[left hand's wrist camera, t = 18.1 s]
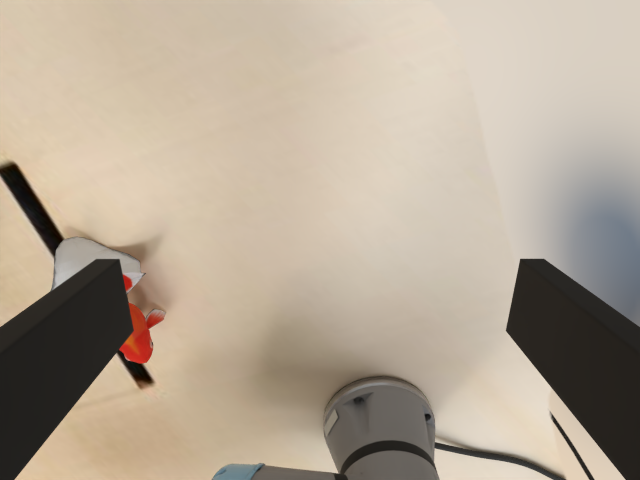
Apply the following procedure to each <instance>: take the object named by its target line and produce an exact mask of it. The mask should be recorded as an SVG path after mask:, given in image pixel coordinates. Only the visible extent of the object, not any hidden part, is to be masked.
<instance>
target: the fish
mask: <svg viewBox="0 0 640 480" xmlns="http://www.w3.org/2000/svg"><path fill="white" fill-rule="evenodd" d="M95 259H120V263H121V268H122V273H123V278H124V283H125V288H126V293H127V294H128V293H129V291H130V290H131V289H132V288H133V287H134V286H135V285H136V284H137V283H138V282H139V280H140V279H141V278H142V276H143V275H145V274H146V273H141V269H140V261H139V260H137V259H136V258H134V257H132V256H131V255H129V254H126V253H123V252H120V251H116V250H113V249H110V248H107V247H105V246H103V245H101V244H99V243H97V242H94V241H92V240H89V239H85V238H82V237H72V238H68V239H64V240H63V241H62V242H61V243H60V245H59V246H58V248H57V250H56V253H55V258H54V278H53V284H52V289H51V291H52V290H53V289H55V288H56V287H57V286H59V285H60V284H62V283H63V282H64V281H66V280H67V279H69V278H70V277H71V276H73V275H74V274H76V273H77V272H78V271H80V270H81V269H83V268H84V267H86V266H87V265H88V264H90V263H91V262H93V261H94V260H95ZM129 308H130V313H131V318H132V323H133V328H134V331H133V333H132V334H131V335H130V336H129V338H128V339H127V340H126V341H125V343H124V344H123V345H122V346H121V348H120V349H119V350H120V351H122V352H123V353H124V355H125V358H126V359H127V360H129V361H134V362H137V363H146V362H147V361H148V360H149V359H150V357H151V355H152V351H153V342H152V340H151V337H150V332H149V330H148V329H150V328H151V327H153V326H154V325H156V324H158V323H159V322H161V321H162V320H163V319H164V315H165V314H166V313H165V312H164V311H162V310H158V309H153V310H152V311H151V312H150V313H149V314H148V315H147V317H146V318H145V317H144V315H143V313H142V312H141V310H140V309H139V308H137V307H136V306H135V305H133V304H131V303H129Z"/></svg>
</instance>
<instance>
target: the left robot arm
mask: <svg viewBox="0 0 640 480" xmlns="http://www.w3.org/2000/svg"><path fill="white" fill-rule="evenodd" d="M133 331H134V328H133V323H132V318H131V313H130V308H129V303H128V298H127V293H126V288H125V283H124V278H123V273H122V268H121V263H120V259H95V260H94V261H93V262H91V263H90V264H88V265H87V266H86V267H84V268H83V269H81V270H80V271H78V272H77V273H76V274H74V275H73V276H71V277H70V278H69V279H67V280H66V281H64V282H63V283H62V284H60V285H59V286H57V287H56V288H55V289H53V290H52V291H50V292H49V293H48V294H46V295H45V296H43V297H42V298H41V299H39V300H38V301H36V302H35V303H34V304H32V305H31V306H29V307H28V308H27V309H25V310H24V311H22V312H21V313H20V314H18V315H17V316H15V317H14V318H12V319H11V320H10V321H8V322H7V323H5V324H4V325H3V326H1V327H0V480H14V479H15V478H16V477H17V476H18V474H19V473H20V472H21V471H22V469H23V468H24V467H25V466H26V464H27V463H28V462H29V461H30V460H31V458H32V457H33V456H34V455H35V453H36V452H37V451H38V450H39V448H40V447H41V446H42V445H43V443H44V442H45V441H46V440H47V438H48V437H49V436H50V435H51V433H52V432H53V431H54V430H55V428H56V427H57V426H58V425H59V423H60V422H61V421H62V420H63V418H64V417H65V416H66V415H67V414H68V412H69V411H70V410H71V409H72V407H73V406H74V405H75V404H76V402H77V401H78V400H79V399H80V397H81V396H82V395H83V394H84V392H85V391H86V390H87V389H88V387H89V386H90V385H91V384H92V382H93V381H94V380H95V379H96V377H97V376H98V375H99V374H100V372H101V371H102V370H103V369H104V367H105V366H106V365H107V364H108V363H109V361H110V360H111V359H112V358H113V356H114V355H115V354H116V353H117V351H118V350H119V349H120V348H121V346H122V345H123V344H124V343H125V341H126V340H127V339H128V338H129V336H130V335H131V334H132V333H133ZM506 331H507V333H508V334H509V335H510V336H511V338H512V339H513V340H514V341H515V343H516V344H517V345H518V346H519V348H520V349H521V350H522V351H523V353H524V354H525V355H526V356H527V358H528V359H529V360H530V361H531V363H532V364H533V365H534V366H535V367H536V369H537V370H538V371H539V372H540V374H541V375H542V376H543V377H544V379H545V380H546V381H547V382H548V384H549V385H550V386H551V387H552V389H553V390H554V391H555V392H556V394H557V395H558V396H559V397H560V399H561V400H562V401H563V402H564V404H565V405H566V406H567V407H568V409H569V410H570V411H571V412H572V414H573V415H574V416H575V417H576V418H577V420H578V421H579V422H580V423H581V425H582V426H583V427H584V428H585V430H586V431H587V432H588V433H589V435H590V436H591V437H592V438H593V440H594V441H595V442H596V443H597V445H598V446H599V447H600V448H601V450H602V451H603V452H604V453H605V455H606V456H607V457H608V458H609V460H610V461H611V462H612V463H613V464H614V466H615V467H616V468H617V469H618V471H619V472H620V473H621V474H622V476H623V477H624V478H625V479H626V480H640V327H639V326H637V325H636V324H634V323H633V322H632V321H630V320H629V319H627V318H626V317H625V316H623V315H622V314H620V313H619V312H618V311H616V310H615V309H613V308H612V307H611V306H609V305H608V304H606V303H605V302H604V301H602V300H601V299H599V298H598V297H597V296H595V295H594V294H592V293H591V292H590V291H588V290H587V289H585V288H584V287H583V286H581V285H580V284H578V283H577V282H576V281H574V280H573V279H571V278H570V277H569V276H567V275H566V274H564V273H563V272H562V271H560V270H559V269H557V268H556V267H554V266H553V265H552V264H550V263H549V262H547V261H546V260H545V259H520V263H519V268H518V273H517V278H516V283H515V288H514V293H513V298H512V303H511V308H510V313H509V318H508V323H507V328H506ZM550 415H551V420H552V421H553V423H554V424H555V425H556V427H557V428H558V430H559V431H560V433H561V434H562V436H563V437H564V439H565V441H566V442H567V444H568V445H569V447H570V448H571V450H572V452H573V453H574V455H575V456H576V458H577V460H578V462H579V463H580V465H581V467H582V468H583V470H584V472H585V474H586V475H587V477H588V479H589V480H595V479H594V478H593V476H592V474H591V473H590V471H589V470H588V468H587V466H586V465H585V463H584V461H583V460H582V458H581V456H580V455H579V453H578V451H577V450H576V448H575V447H574V445H573V444H572V442H571V441H570V439H569V437H568V436H567V435H566V433H565V431H564V430H563V429H562V427H561V426H560V424H559V423H558V421H557V420H556V418H555V417H554V416H553V414H552V413H551V411H550ZM324 435H325V439H326V443H327V446H328V448H329V450H330V453H331V455H332V458H333V460H334V463H335V465H336V468H337V470H338V473H339V474H336V473H330V472H320V471H310V470H301V469H291V468H282V467H274V466H266V465H265V464H263V463H259V464H257V465H249V464H229V465H226V466H224V467H223V468H221V469H220V470H219V471H218V472H217V473H216V474H215V476H214V477H213V478H212V480H439V476H438V474H437V471H436V467H435V464H434V448H436V449H441V450H445V451H450V452H454V453H459V454H464V455H469V456H474V457H480V458H486V459H493V460H499V461H505V462H510V463H515V464H518V465H522V466H525V467H528V468H530V469H533V470H535V471H537V472H540V473H542V474H543V475H545V476H547V477H549V478H551V479H553V480H566V479H563V478H561V477H559V476H557V475H554V474H552V473H550V472H549V471H547V470H545V469H543V468H541V467H539V466H537V465H534V464H532V463H530V462H527V461H524V460H521V459H517V458H514V457H509V456H504V455H498V454H491V453H485V452H478V451H473V450H468V449H463V448H458V447H454V446H449V445H445V444H440V443H436V442H435V420H434V416H433V413H432V410H431V407H430V404H429V402H428V400H427V399H426V397H425V396H424V394H423V393H422V392H421V391H420V390H419V389H417V388H416V387H415V386H413V385H411V384H409V383H407V382H405V381H403V380H399V379H396V378H390V377H371V378H365V379H362V380H358V381H356V382H353V383H351V384H349V385H347V386H345V387H344V388H342V389H341V390H340V391H339V392H337V393H336V394H335V395H334V396H333V398H332V399H331V400H330V402H329V404H328V405H327V408H326V410H325V414H324Z"/></svg>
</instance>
